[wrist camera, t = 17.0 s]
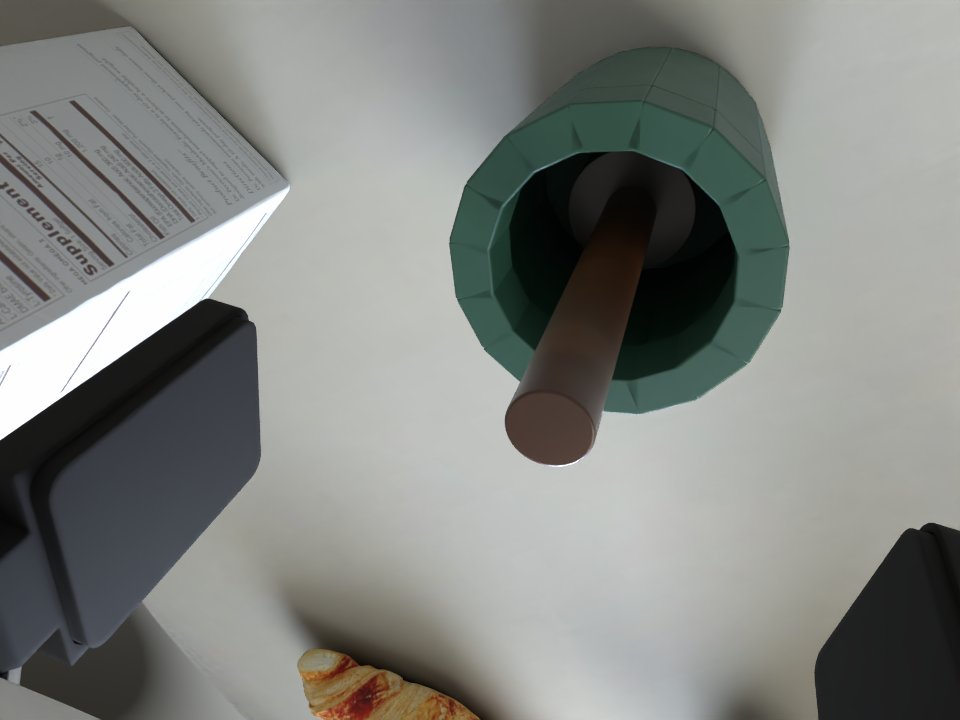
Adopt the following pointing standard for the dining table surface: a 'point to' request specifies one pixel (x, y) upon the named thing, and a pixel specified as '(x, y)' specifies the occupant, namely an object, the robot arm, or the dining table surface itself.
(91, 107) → the supplement box
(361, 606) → the dining table surface
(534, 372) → the dowel with disc base
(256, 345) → the robot arm
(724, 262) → the jar
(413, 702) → the croissant
